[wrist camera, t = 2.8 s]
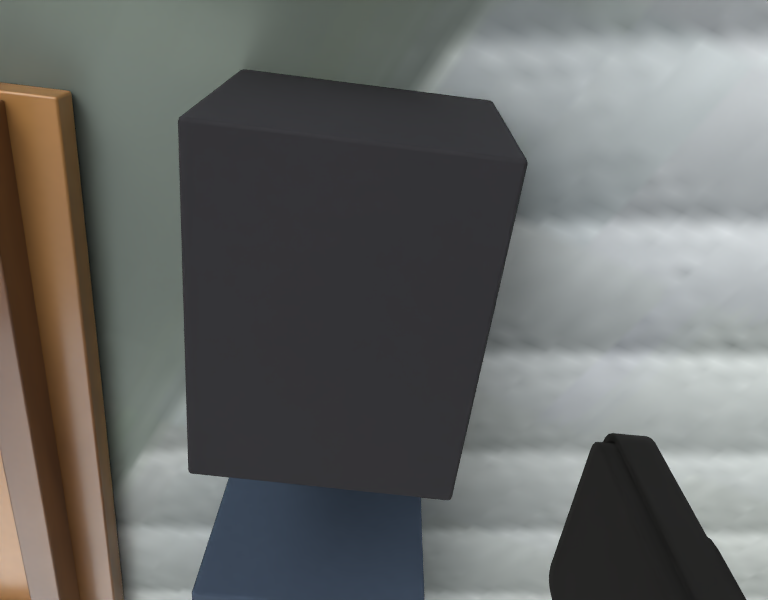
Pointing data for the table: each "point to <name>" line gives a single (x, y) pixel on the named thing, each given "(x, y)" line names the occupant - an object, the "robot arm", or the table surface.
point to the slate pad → (312, 545)
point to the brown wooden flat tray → (49, 366)
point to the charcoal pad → (339, 278)
